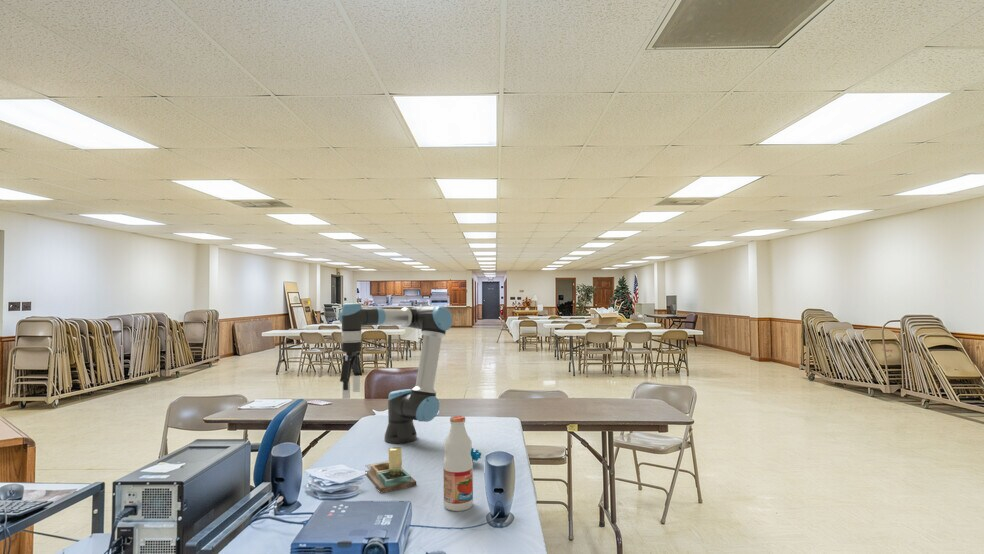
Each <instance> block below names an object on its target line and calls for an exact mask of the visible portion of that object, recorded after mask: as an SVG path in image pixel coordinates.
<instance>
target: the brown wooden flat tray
mask: <svg viewBox="0 0 984 554" xmlns="http://www.w3.org/2000/svg"><path fill="white" fill-rule="evenodd" d="M383 462H384V463H380V462H378V463H379V464H375V463H372V464H373V465H370V470H369V469H368V470H365V471H364V473H365V472H367V476H366V477H367V478H368V479H369V480H370V481H371V483H372V484H374V486H375V489H378V490H379V491H380V492H379V491H378V490H377V491H378V492H379V493H380V494H382V493H381V492H383V493H387V492H386V491H388V492H391V490H393V491H397V490H401V488H402V489H405V487H407V488H410V486H411V487H415V486H414V485H416V486H417V480H416V479H415V478H413V477H412V476H411V475H410V474H409V473H408V472H407V471H406V470H405V469H403V468H402V474H403V477H399V478H394V479H389V480H388V475H389V462H386V461H383Z"/></svg>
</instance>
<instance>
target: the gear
mask: <svg viewBox="0 0 984 554" xmlns="http://www.w3.org/2000/svg"><path fill="white" fill-rule="evenodd" d="M474 450H475V451H474ZM471 457H472V462H474V461H475V462H478V460H479V459H481V457H482V452H480V451H479V450H478V449H474V448H473V447H472V449H471Z"/></svg>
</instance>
